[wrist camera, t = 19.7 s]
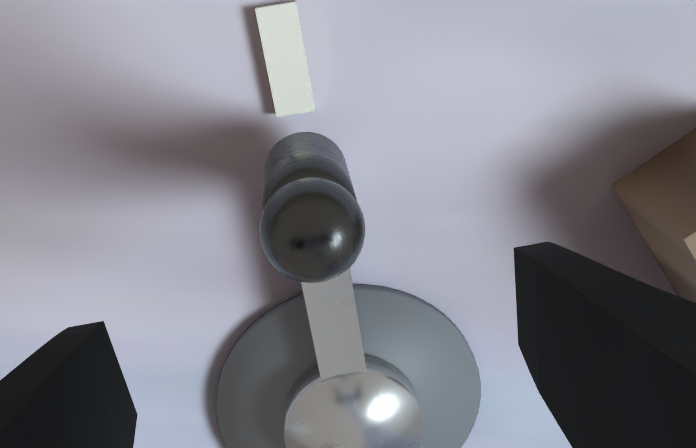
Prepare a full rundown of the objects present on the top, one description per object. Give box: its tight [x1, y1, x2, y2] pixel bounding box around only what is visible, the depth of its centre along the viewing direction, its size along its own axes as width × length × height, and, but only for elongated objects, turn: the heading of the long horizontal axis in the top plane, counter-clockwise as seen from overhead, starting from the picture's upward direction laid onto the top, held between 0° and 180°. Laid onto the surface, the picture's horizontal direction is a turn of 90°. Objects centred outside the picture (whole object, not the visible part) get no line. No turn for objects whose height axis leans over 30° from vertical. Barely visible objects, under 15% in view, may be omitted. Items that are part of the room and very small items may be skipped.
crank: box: [259, 132, 424, 448], centre depth 20 cm, size 14×5×6 cm, turn 8°
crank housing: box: [216, 1, 481, 448], centre depth 23 cm, size 20×10×1 cm, turn 9°
